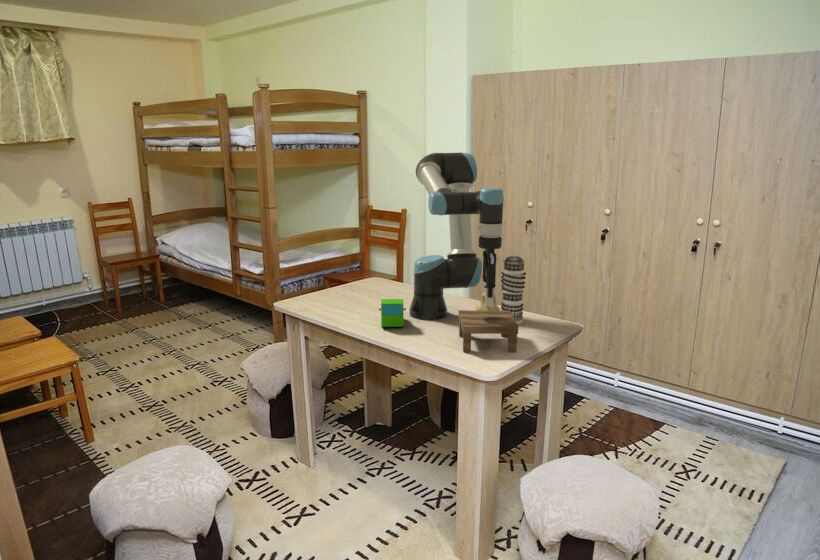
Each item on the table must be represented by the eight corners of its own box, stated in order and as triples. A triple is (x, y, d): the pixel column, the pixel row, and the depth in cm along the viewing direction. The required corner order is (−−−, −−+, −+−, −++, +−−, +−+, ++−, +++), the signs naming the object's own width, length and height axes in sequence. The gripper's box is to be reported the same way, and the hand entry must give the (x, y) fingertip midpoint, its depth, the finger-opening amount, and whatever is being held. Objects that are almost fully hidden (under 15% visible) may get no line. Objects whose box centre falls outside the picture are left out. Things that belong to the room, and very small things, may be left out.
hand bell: (502, 307, 194) (504, 261, 190) (497, 314, 187) (498, 266, 183) (478, 304, 197) (480, 260, 193) (472, 311, 190) (473, 264, 186)
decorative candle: (522, 325, 214) (525, 260, 208) (497, 323, 216) (500, 259, 210) (524, 318, 222) (528, 255, 216) (501, 316, 225) (503, 254, 219)
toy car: (405, 318, 222) (405, 293, 220) (406, 329, 209) (406, 303, 207) (379, 318, 222) (379, 294, 219) (378, 329, 209) (378, 303, 206)
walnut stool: (458, 334, 204) (458, 310, 202) (508, 334, 204) (509, 310, 202) (462, 352, 186) (463, 326, 184) (517, 352, 186) (518, 326, 184)
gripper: (475, 231, 195) (473, 296, 201) (482, 240, 177) (480, 311, 182) (497, 231, 195) (494, 296, 201) (506, 240, 177) (503, 311, 182)
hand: (487, 303), depth 191 cm, fingers closed on hand bell, 6 cm apart
